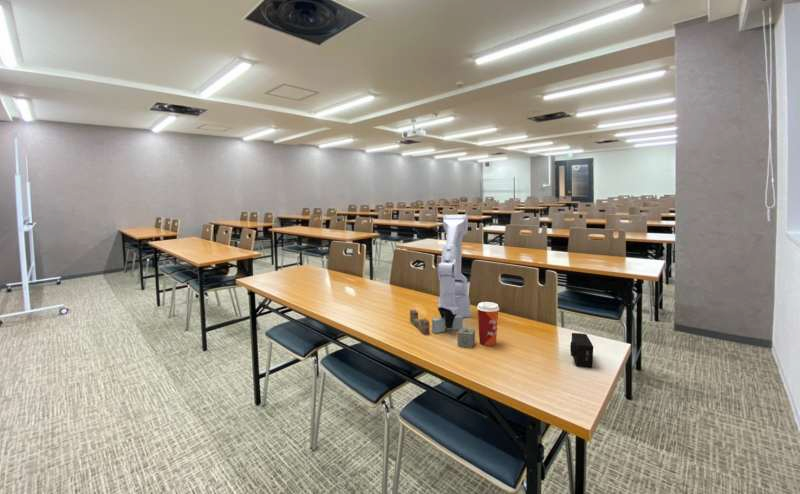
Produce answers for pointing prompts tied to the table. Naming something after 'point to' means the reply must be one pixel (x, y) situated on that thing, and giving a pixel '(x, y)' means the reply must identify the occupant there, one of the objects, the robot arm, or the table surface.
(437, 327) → the pale blue-gray block
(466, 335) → the gray cube with hole
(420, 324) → the walnut u-shaped block
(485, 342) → the paper cup
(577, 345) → the digital camera
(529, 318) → the table surface
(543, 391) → the table surface
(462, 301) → the robot arm
